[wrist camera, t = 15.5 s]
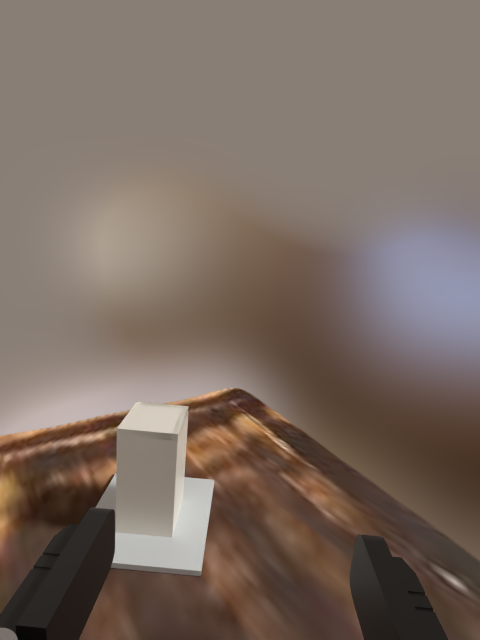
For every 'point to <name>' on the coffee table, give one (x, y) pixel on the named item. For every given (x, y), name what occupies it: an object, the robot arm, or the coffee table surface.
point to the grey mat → (167, 552)
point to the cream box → (150, 469)
